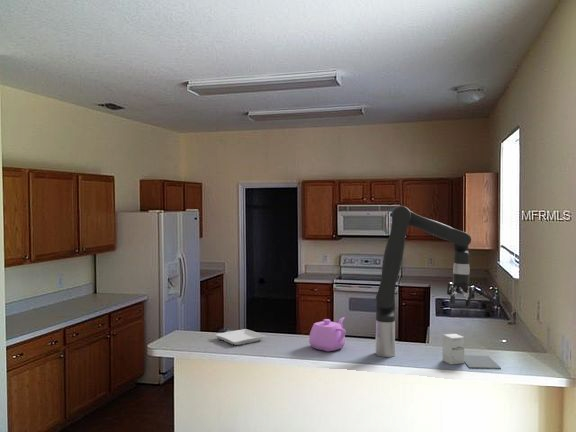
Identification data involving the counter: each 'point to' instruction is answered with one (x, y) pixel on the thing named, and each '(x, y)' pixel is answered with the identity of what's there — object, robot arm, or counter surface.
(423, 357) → the counter surface
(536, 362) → the counter surface
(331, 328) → the teapot
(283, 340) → the counter surface
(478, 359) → the charcoal mat
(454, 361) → the supplement box
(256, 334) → the salad plate
